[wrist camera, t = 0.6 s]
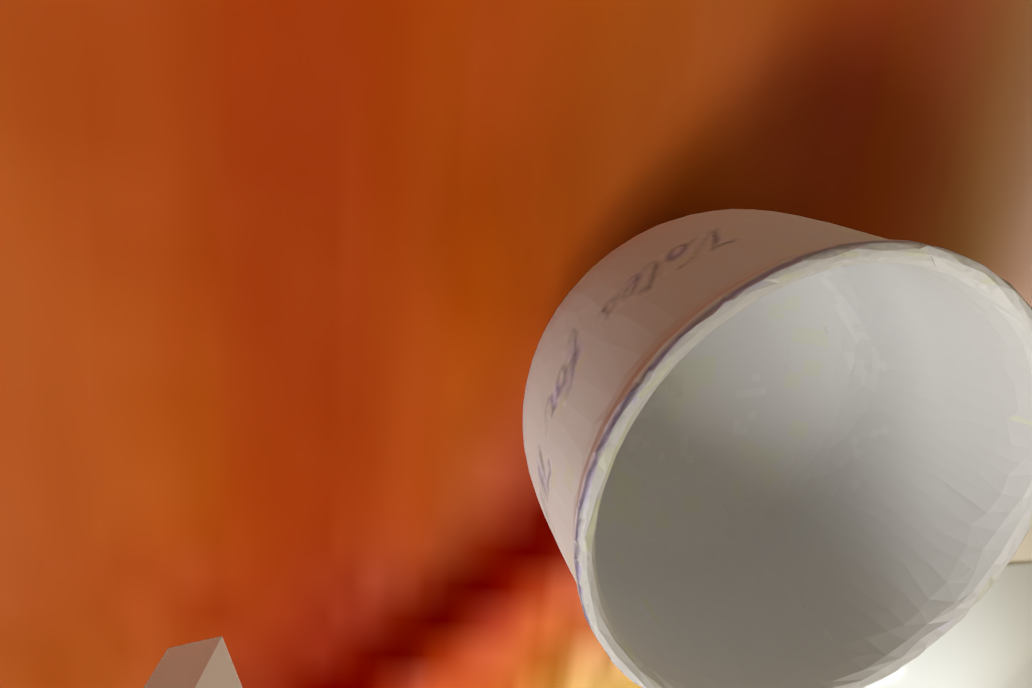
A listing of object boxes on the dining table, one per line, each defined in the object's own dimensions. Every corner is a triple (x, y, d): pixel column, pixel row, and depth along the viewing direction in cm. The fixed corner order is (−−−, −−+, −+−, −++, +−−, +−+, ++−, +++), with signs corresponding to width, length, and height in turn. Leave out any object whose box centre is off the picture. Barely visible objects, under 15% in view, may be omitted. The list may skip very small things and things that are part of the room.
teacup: (583, 122, 18) (728, 158, 11) (908, 249, 21) (1190, 342, 14) (418, 568, 22) (443, 816, 15) (714, 620, 25) (857, 846, 18)
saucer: (721, 600, 25) (737, 625, 24) (1129, 417, 26) (1164, 433, 24) (805, 861, 31) (822, 890, 30) (1131, 709, 32) (1158, 732, 31)
